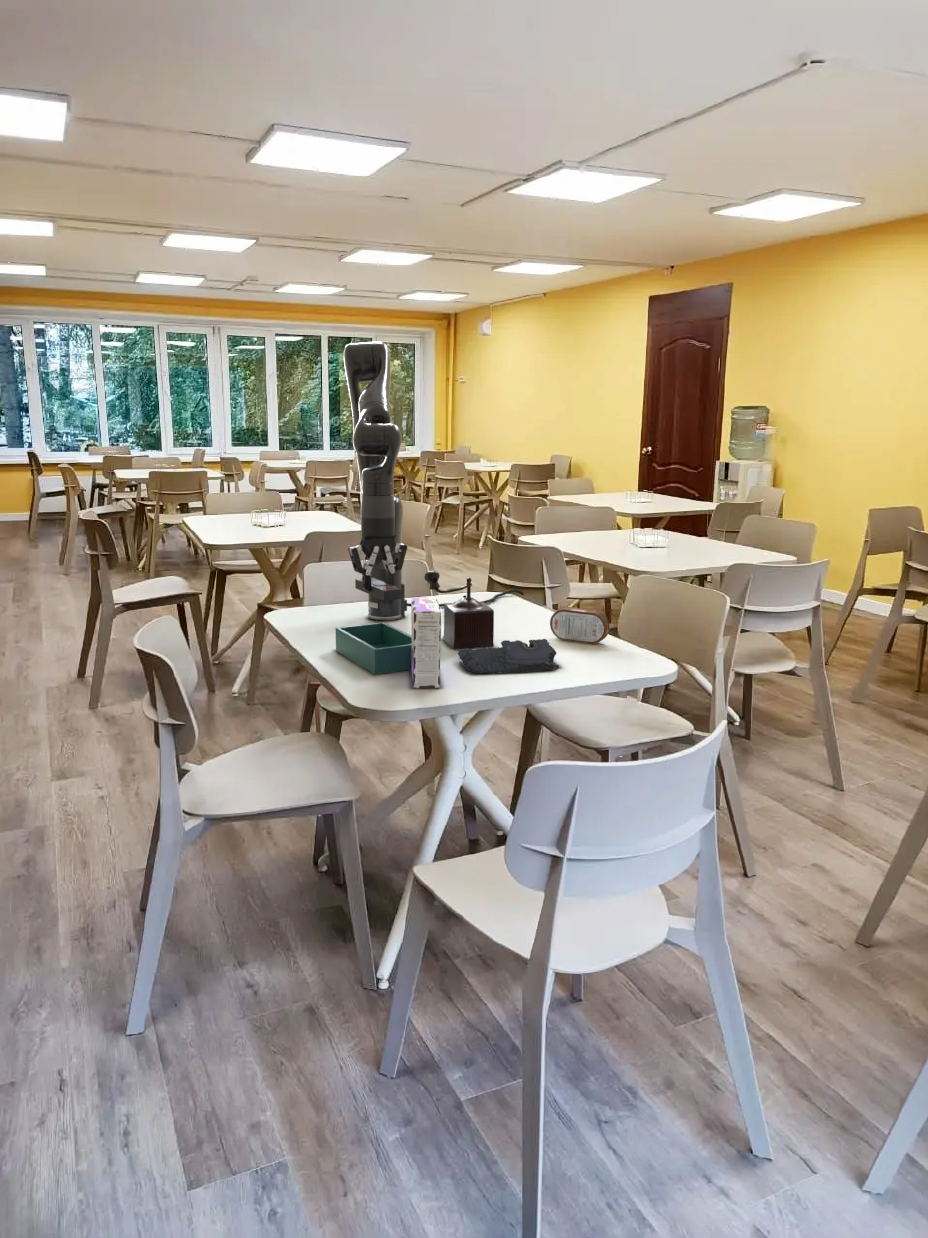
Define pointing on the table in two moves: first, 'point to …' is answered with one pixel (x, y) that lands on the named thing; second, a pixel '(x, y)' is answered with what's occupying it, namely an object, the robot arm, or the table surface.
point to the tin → (579, 625)
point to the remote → (381, 589)
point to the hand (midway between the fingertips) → (378, 589)
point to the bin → (376, 647)
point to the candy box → (425, 642)
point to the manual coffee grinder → (465, 618)
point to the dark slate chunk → (510, 657)
